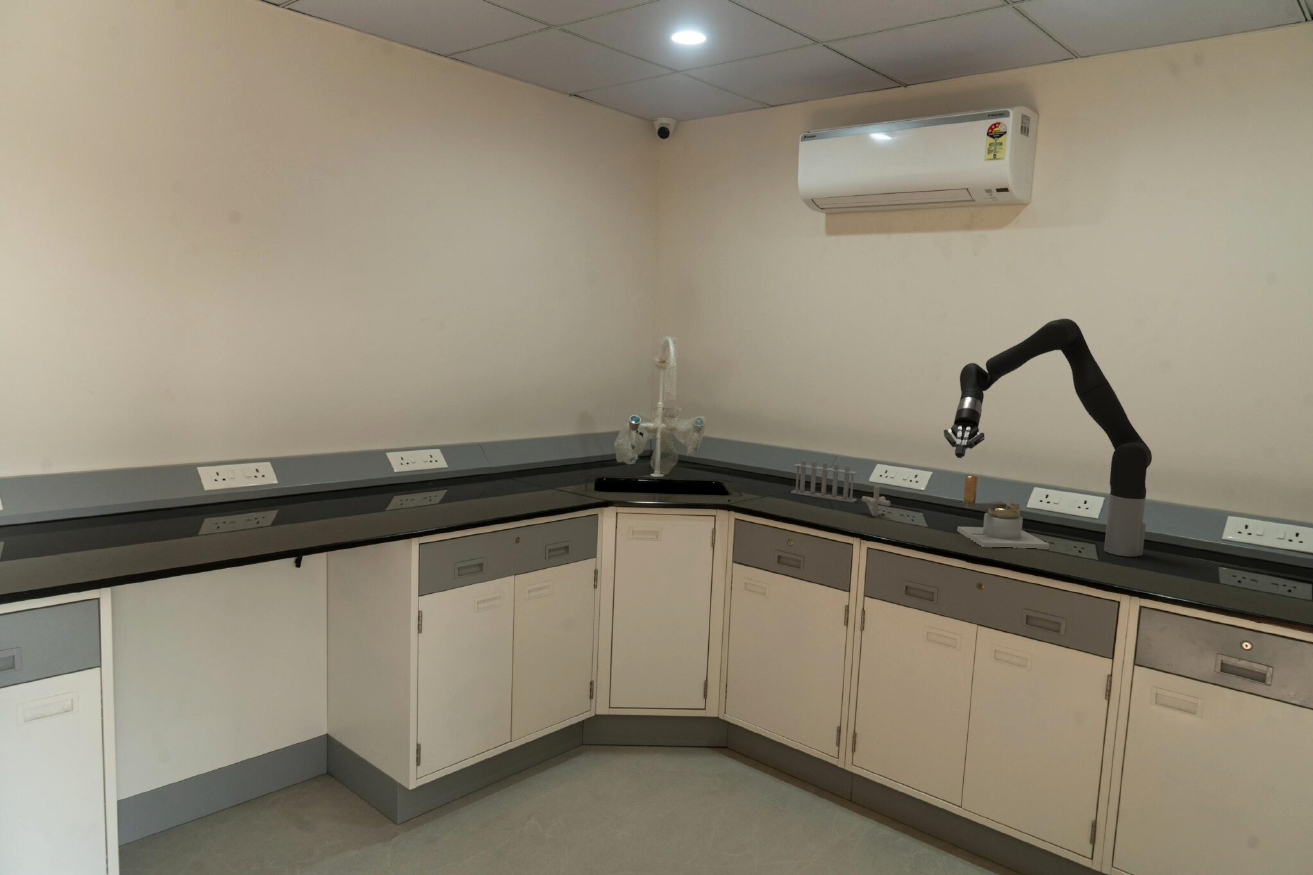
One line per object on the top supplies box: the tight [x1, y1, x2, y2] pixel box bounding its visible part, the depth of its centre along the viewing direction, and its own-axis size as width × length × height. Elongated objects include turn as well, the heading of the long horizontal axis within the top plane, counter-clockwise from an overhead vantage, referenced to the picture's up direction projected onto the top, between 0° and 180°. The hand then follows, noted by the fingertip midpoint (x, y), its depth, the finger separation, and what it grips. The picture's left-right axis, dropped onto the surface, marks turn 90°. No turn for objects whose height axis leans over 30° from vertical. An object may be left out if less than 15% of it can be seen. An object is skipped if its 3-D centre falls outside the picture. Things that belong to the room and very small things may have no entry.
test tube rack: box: [790, 459, 859, 504], centre depth 321 cm, size 25×4×13 cm, turn 55°
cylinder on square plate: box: [956, 512, 1050, 550], centre depth 263 cm, size 20×20×8 cm
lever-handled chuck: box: [962, 474, 1021, 519], centre depth 261 cm, size 18×9×12 cm, turn 101°
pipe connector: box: [861, 485, 891, 517], centre depth 292 cm, size 10×10×10 cm
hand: (959, 456), depth 266 cm, fingers closed
